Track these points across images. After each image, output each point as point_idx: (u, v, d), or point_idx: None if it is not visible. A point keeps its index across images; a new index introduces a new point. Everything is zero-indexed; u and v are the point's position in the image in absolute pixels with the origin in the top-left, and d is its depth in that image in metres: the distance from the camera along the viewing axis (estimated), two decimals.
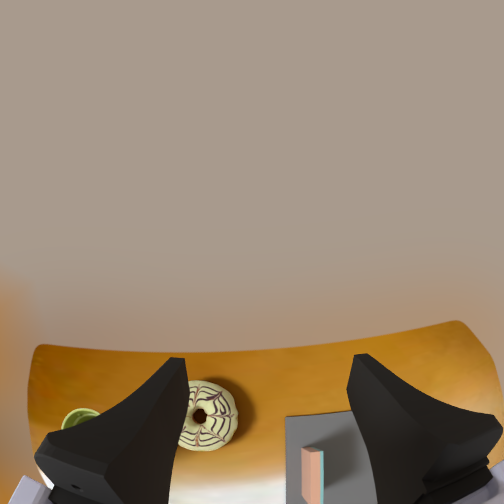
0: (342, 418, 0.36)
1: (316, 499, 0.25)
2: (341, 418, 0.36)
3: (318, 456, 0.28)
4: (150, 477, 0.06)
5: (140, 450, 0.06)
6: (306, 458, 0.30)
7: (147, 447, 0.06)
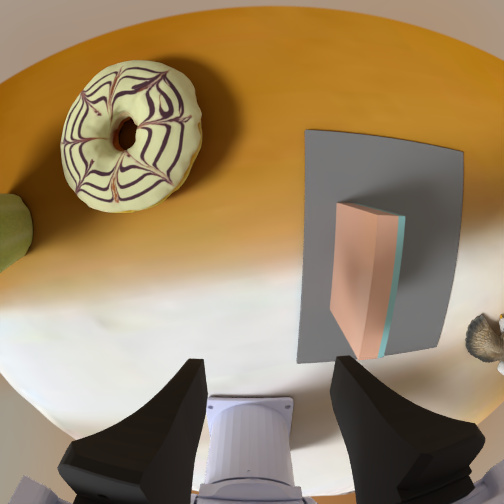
0: (413, 154, 0.19)
1: (373, 342, 0.14)
2: (411, 154, 0.19)
3: (394, 229, 0.13)
4: (176, 481, 0.06)
5: (168, 454, 0.06)
6: (355, 229, 0.16)
7: (174, 451, 0.06)
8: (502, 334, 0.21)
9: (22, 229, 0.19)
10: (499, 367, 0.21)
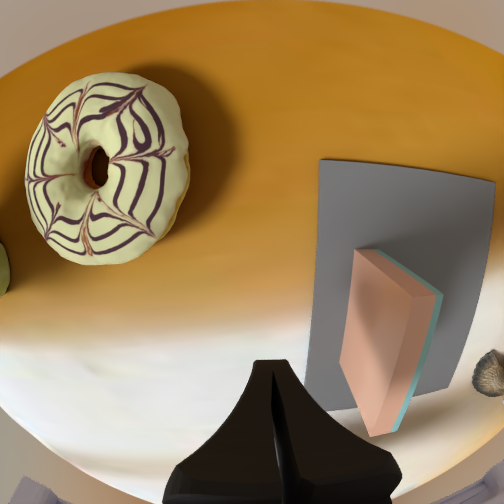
0: (443, 188, 0.15)
1: (388, 420, 0.11)
2: (442, 188, 0.15)
3: (429, 310, 0.10)
4: None
5: None
6: (379, 296, 0.13)
7: None
8: None
9: None
10: None
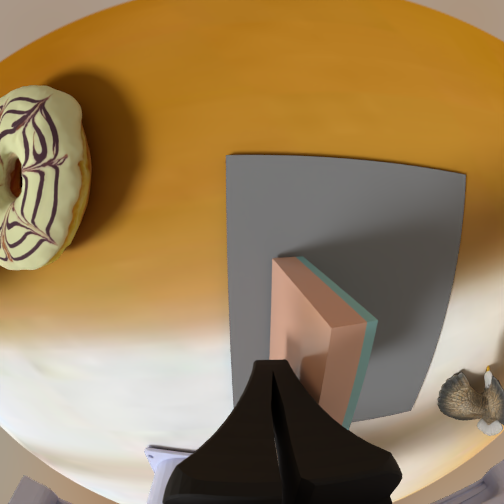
0: (391, 181, 0.14)
1: None
2: (389, 181, 0.14)
3: (357, 342, 0.08)
4: None
5: None
6: (297, 318, 0.11)
7: None
8: (486, 391, 0.17)
9: None
10: (479, 424, 0.17)
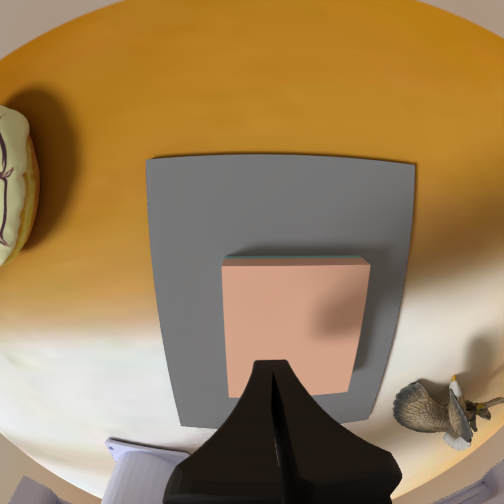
0: (318, 176, 0.14)
1: None
2: (316, 176, 0.14)
3: None
4: None
5: None
6: (310, 289, 0.13)
7: None
8: None
9: None
10: (445, 438, 0.17)
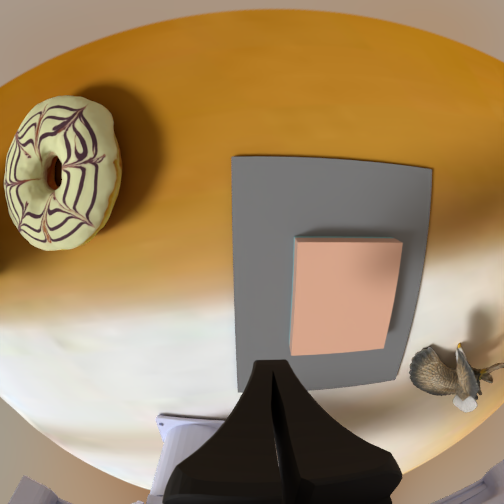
0: (364, 176, 0.17)
1: None
2: (362, 176, 0.17)
3: None
4: None
5: None
6: (361, 261, 0.17)
7: None
8: None
9: None
10: (455, 401, 0.21)
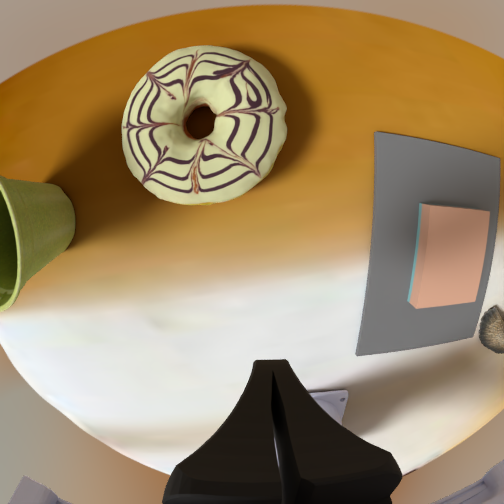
0: (462, 159, 0.18)
1: None
2: (461, 159, 0.18)
3: None
4: None
5: None
6: (467, 224, 0.18)
7: None
8: None
9: (65, 222, 0.19)
10: None
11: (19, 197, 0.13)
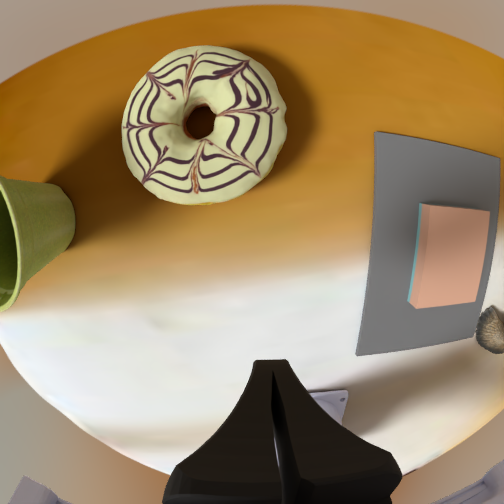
0: (462, 159, 0.18)
1: None
2: (461, 159, 0.18)
3: None
4: None
5: None
6: (467, 224, 0.18)
7: None
8: None
9: (65, 222, 0.19)
10: None
11: (19, 197, 0.13)
